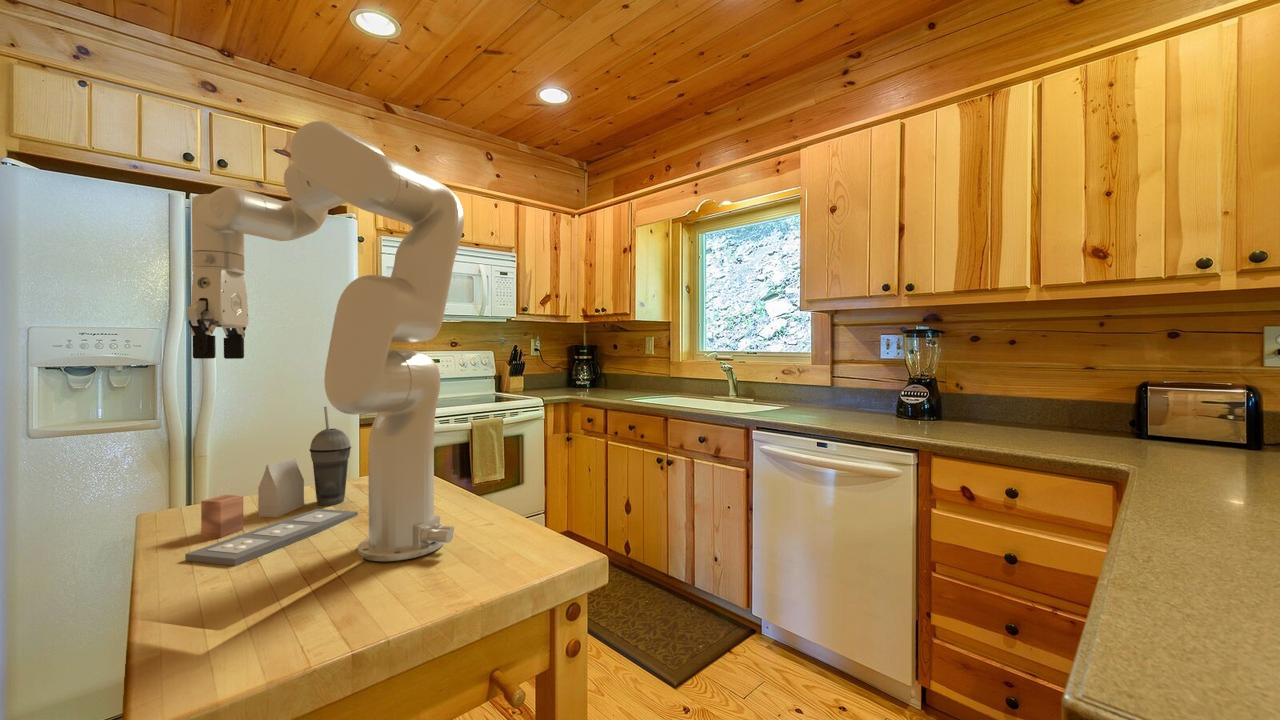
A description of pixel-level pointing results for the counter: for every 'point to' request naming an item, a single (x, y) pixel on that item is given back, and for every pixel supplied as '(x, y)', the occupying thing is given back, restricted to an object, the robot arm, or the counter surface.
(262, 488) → the gable top carton
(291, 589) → the counter surface
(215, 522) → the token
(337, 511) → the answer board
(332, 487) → the beverage cup
